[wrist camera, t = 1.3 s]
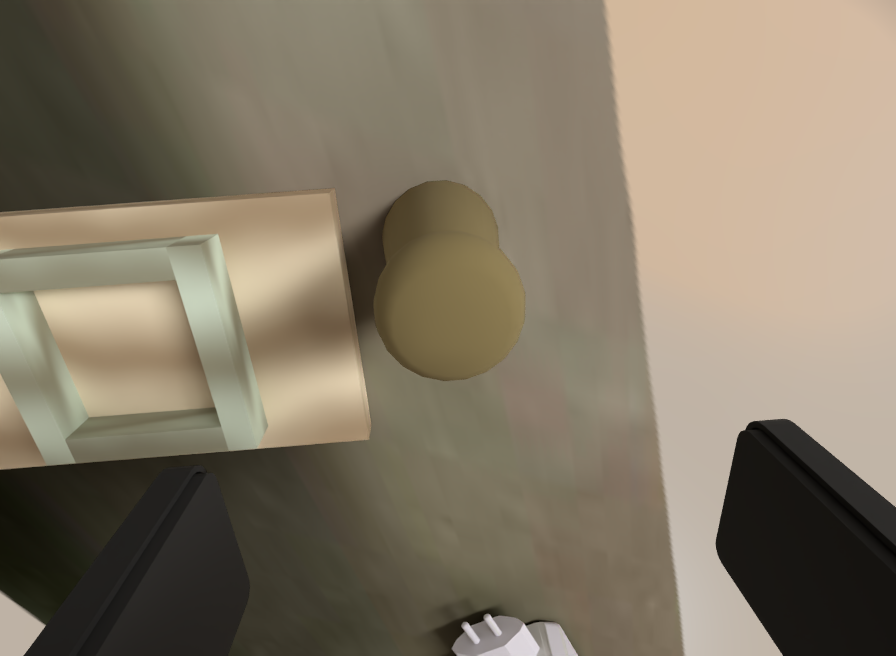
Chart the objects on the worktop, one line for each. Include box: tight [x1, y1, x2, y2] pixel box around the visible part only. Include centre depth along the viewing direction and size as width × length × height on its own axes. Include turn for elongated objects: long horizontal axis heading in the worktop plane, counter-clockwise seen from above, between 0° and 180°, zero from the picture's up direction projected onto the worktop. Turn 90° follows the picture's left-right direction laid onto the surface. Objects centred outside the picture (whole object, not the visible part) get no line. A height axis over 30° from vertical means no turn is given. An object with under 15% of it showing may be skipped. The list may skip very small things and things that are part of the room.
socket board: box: [0, 188, 371, 470], centre depth 25 cm, size 14×22×4 cm, turn 94°
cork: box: [373, 180, 525, 381], centre depth 20 cm, size 6×6×11 cm
